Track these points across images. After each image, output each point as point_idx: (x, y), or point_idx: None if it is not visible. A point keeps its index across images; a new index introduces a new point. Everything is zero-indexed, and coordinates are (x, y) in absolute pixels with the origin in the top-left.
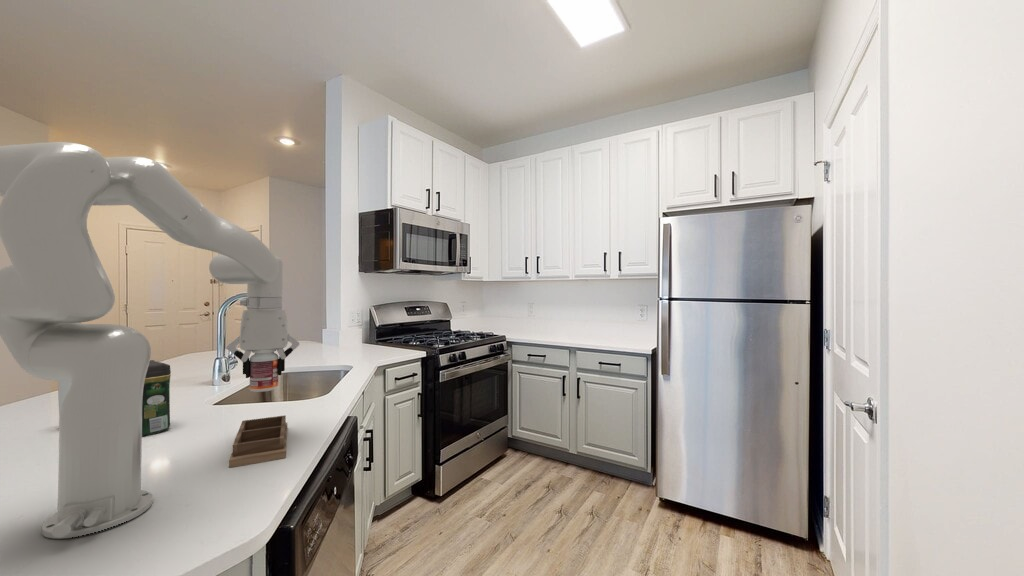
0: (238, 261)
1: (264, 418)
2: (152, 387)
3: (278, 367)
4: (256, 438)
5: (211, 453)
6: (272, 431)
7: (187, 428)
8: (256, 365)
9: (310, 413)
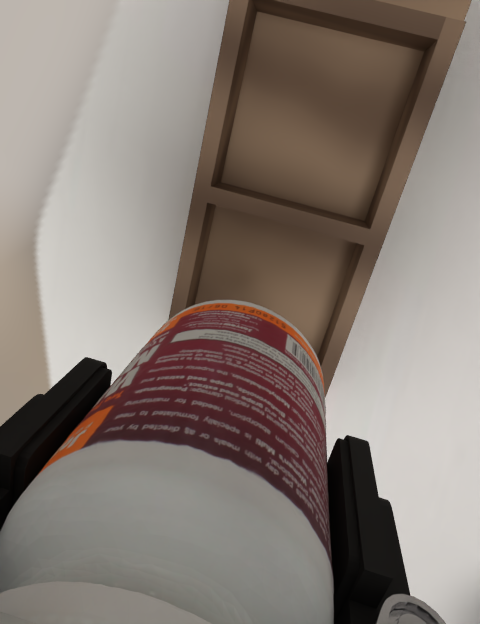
0: None
1: None
2: None
3: (72, 405)
4: (311, 207)
5: (461, 247)
6: (248, 194)
7: (444, 572)
8: (284, 457)
9: None
